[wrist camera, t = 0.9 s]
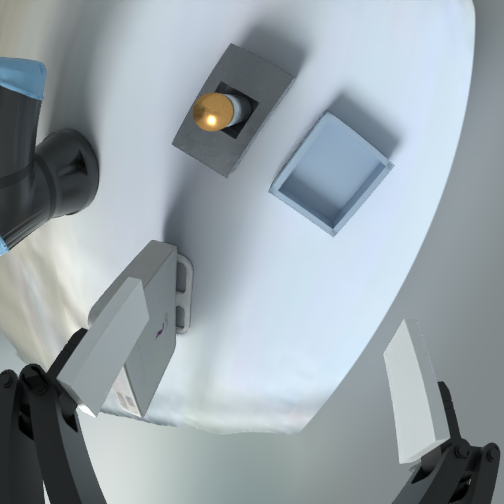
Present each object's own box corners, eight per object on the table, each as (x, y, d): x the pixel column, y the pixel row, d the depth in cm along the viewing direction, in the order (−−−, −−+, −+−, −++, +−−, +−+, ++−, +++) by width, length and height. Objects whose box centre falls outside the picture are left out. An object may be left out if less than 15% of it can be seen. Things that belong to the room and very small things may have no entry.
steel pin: (216, 114, 32) (185, 119, 23) (231, 89, 30) (205, 85, 21) (241, 128, 32) (218, 138, 24) (256, 104, 30) (239, 104, 22)
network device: (189, 344, 55) (154, 425, 38) (151, 331, 55) (110, 406, 38) (196, 239, 41) (131, 335, 24) (145, 226, 42) (67, 307, 25)
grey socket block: (234, 169, 35) (226, 178, 32) (184, 139, 34) (171, 144, 30) (295, 80, 28) (294, 77, 24) (238, 49, 27) (230, 43, 23)
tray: (331, 227, 37) (333, 237, 34) (271, 184, 35) (268, 191, 33) (387, 160, 31) (394, 165, 28) (325, 110, 29) (327, 111, 27)
